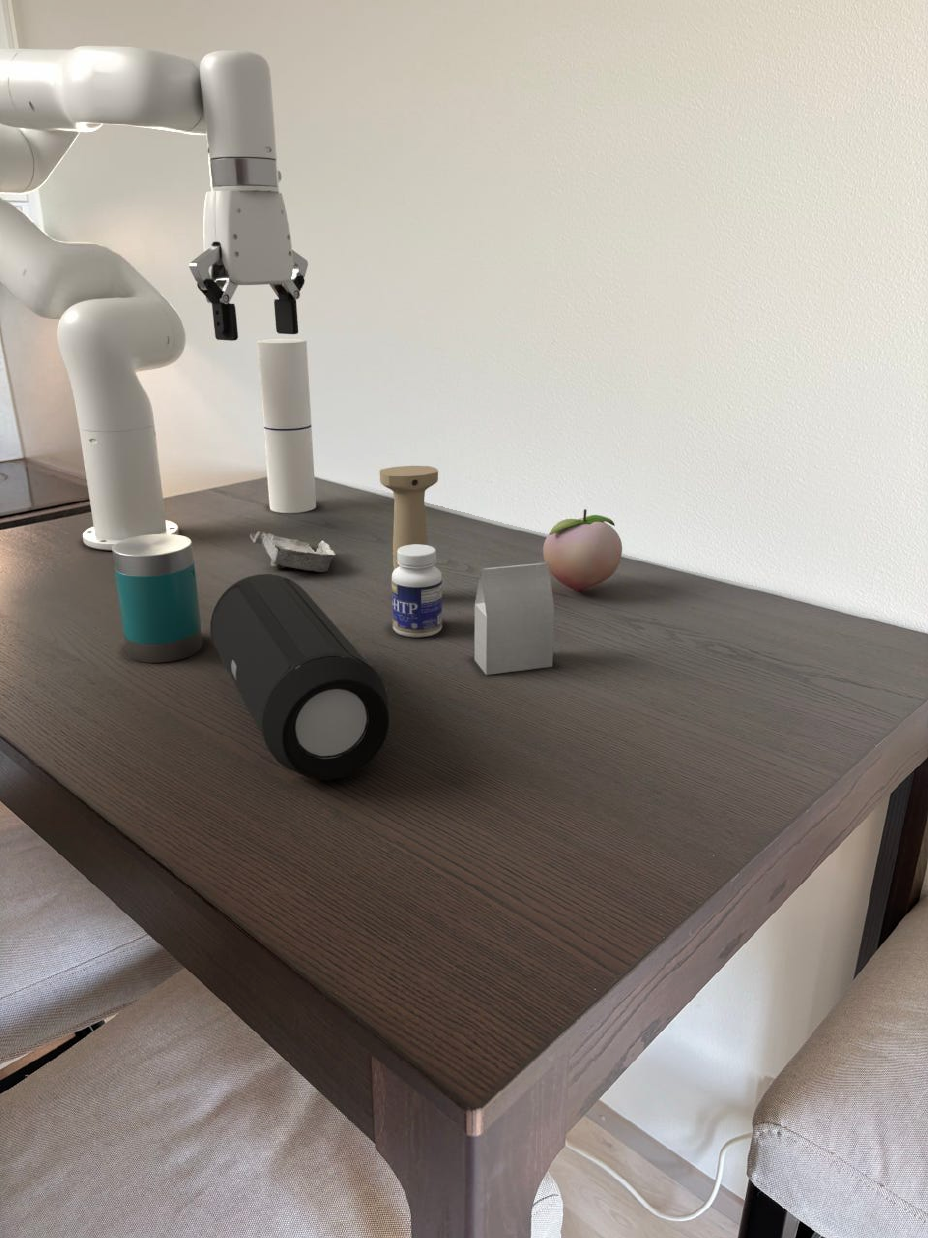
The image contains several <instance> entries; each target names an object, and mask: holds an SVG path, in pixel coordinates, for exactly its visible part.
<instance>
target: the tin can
mask: <svg viewBox="0 0 928 1238" xmlns="http://www.w3.org/2000/svg"><path fill="white" fill-rule="evenodd" d="M111 551H112V558H113V563H114V576H115V577H114V578H115V583H116V590H117V597H118V605H119V611H120V618H121V626H122V627H121V628H122V632H123V633H122V634H123V637H124V641H125V642H124V643H125V650H126V651H125V652H126V655H127V656H128V658H130V659H131V660H133V661H136V662H139V663H148V664H160V663H170V662H175V661H179V660H183V659H186V658H188V657H191V656H193V655H195V654H197V653H198V652H199V651H200V650H201V649H202V648H203V635H202V634H203V633H202V622H201V612H200V602H199V592H198V585H197V582H198V581H197V574H196V564H195V560H194V552H193V542H192V539H190V538H189V537H187V536H184V535H180V534H178V535H175V534H149V535H141V536H136V537H131V538H128V539H125V540H122V541H119V542H118V543H116V544H115V545H114V546H113V547H112V550H111Z"/></svg>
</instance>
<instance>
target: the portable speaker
mask: <svg viewBox="0 0 928 1238" xmlns="http://www.w3.org/2000/svg"><path fill="white" fill-rule="evenodd" d="M209 630H210V631H209V633H210V638H211V642H212V645H213V646H214V649H215V651H216V652H217V653H218V655H219V657H220V658H221V661H222V662H223V664H224V666H225V669H226V670H227V672H228V673H229V675H230V678H231V679H232V681H233V683H234V685H235V687H236V689H237V690H238V692H239V695H240V697H241V698H242V700H243V702H244V704H245V706H246V708H247V709H248V711H249V714H250V715H251V717H252V720H253V721H254V723H255V725H256V727H257V729H258V730H259V733H260V734H261V736H262V738H263V740H264V743H265V745H266V747H267V750H268V752H270V754H271V756H272V757H273V758H274V759H275V761H277V763H279V764H280V765H281V766H283V767H285V768H286V769H288V770H290V771H292V772H295V773H297V774H300V775H303V776H305V777H308V778H311V779H315V780H319V781H320V780H321V781H333V780H339V779H343V778H346V777H349V776H352V775H353V774H355V773H357V772H358V771H361V769H363V768H365V767H366V766H367V765H369V764H370V763H371V761H372V760H374V758H375V757H376V756H378V754H379V752H380V751H381V749H382V748H383V746H384V743H385V742H386V738H387V736H388V732H389V725H390V710H389V709H390V708H389V705H390V704H389V696H388V693H387V692H388V691H387V689H386V687H385V685H384V682H383V680H382V678H381V677H380V676H379V674H378V673H377V672H376V670H375V669H374V667H372V665H370V663H369V662H368V661H367V660H366V658H364V656H363V655H362V654H361V653H360V652H359V650H358V649H357V648H356V647H355V646H354V645H353V644H352V643H351V642H350V640H349V639H348V638H347V637H346V636H345V635H344V634H343V633H342V631H341V630H340V629H339V628H338V627H337V625H336V624H335V623H334V622H333V621H332V620H331V619H330V617H329V616H328V615H327V614H326V613H325V611H323V610H322V608H321V607H320V606H319V605H318V604H317V602H315V600H314V599H313V598H312V597H311V595H309V594H308V592H307V591H306V590H305V589H304V588H303V587H301V586H300V585H299V584H298V583H296V582H295V581H293V580H292V579H290V578H289V577H288V578H287V577H285V576H283V575H282V576H281V575H277V574H272V573H262V574H255V575H250V576H247V577H243V578H241V579H239V580H237V581H236V582H234V583H232V584H231V585H230V586H229V587H227V589H226V590H225V591H224V592H223V593H222V594H221V596H220V597H219V599H218V600H217V602H216V604H215V606H214V608H213V611H212V614H211V618H210V627H209Z"/></svg>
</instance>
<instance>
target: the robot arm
mask: <svg viewBox="0 0 928 1238" xmlns="http://www.w3.org/2000/svg"><path fill="white" fill-rule="evenodd" d="M272 89H273V88H272V76H271V69H270V65H269V64H268V62H267V60H266V59H265V58H264V57H263V55H260V54H258V53H256V52H252V51H247V50H239V49H238V50H236V49H226V50H225V49H223V50H215V51H211V52H208V53H207V54H205V55H204V56H203V57H202V59H201V61H198V60H194V59H190V58H186V57H183V56H178V55H174V54H171V53H167V52H163V51H159V50H155V49H149V48H145V47H138V46H124V45H79V46H76V47H74V48H72V49H71V48H70V49H69V48H68V49H67V48H66V49H65V48H15V47H10V48H9V47H8V48H7V47H5V48H0V194H9V195H25V194H30V193H32V192H34V191H37V189H39V188H41V187H42V186H43V185H44V184H45V183H46V182H47V180H48V179H49V178H50V176H51V175H52V174H53V173H54V171H55V169H56V168H57V167H58V165H59V164H60V162H61V161H62V160H63V158H64V157H65V155H66V154H67V153H68V151H69V150H70V148H71V147H72V145H73V144H74V143H75V141H76V140H77V139H78V137H79V136H80V133H82V132H83V133H89V132H94V131H97V130H98V129H100V128H101V127H102V126H103V125H116V126H117V125H118V126H128V127H129V126H130V127H131V126H132V127H139V128H145V129H146V128H147V129H156V130H163V131H168V132H175V133H179V134H180V133H182V134H187V135H194V136H195V135H196V136H205V137H206V138H205V139H206V146H207V147H206V149H207V158H208V169H209V177H210V178H209V180H210V189H211V190H210V191H205V198H204V205H203V222H202V223H203V225H202V228H203V229H202V231H203V252H201V254H199V255H198V256H197V257H196V258H194V259H192V261H190V263H189V264H188V268H189V270H190V272H191V274H192V276H193V278H194V280H195V281H196V286H197V288H198V290H199V291H200V292H201V293H202V294H203V296H205V300H206V302H207V303H208V304H210V305H211V308H212V318H213V320H212V321H213V329H214V337H215V339H216V340H217V341H230V342H232V341H233V342H234V341H237V340H238V338H239V332H238V323H237V311H236V305H235V303H230V302H231V300H232V298H233V296H234V295H235V293H236V290H237V288H238V287H239V286H261V285H263V286H264V285H269V286H270V288H271V289H272V291H273V292H274V294H275V295H276V296H277V298H275V299H273V300H274V301H273V305H274V307H273V308H274V318H275V331H276V333H277V334H278V335H279V334H280V335H281V334H282V335H298V334H299V321H298V308H297V307H298V306H297V300H299V299H300V297H301V290H302V288H303V286H304V285H305V277H306V274H307V270H308V267H309V261H308V260H307V259H305V258H304V257H303V256H302V255H300V254H299V253H298V252H296V251H295V250H293V248H292V238H291V230H290V225H289V220H288V219H289V218H288V214H287V208H286V205H285V201H284V197H283V193H282V192H280V183H281V181H282V173H281V171H280V170H278V157H277V145H276V143H277V142H276V131H275V130H276V127H275V116H274V104H273V103H274V102H273V91H272ZM0 283H1V284H2V285H3V286H4V287H5V288H6V289H7V290H9V291H10V293H11V294H13V296H14V297H15V298H17V300H19V301H20V302H21V304H23V305H24V306H25V307H26V308H27V309H28V310H29V311H31V312H32V313H33V314H35V315H37V316H39V317H40V318H43V319H49V320H59V321H58V323H57V328H56V341H57V345H58V350H59V353H60V356H61V359H62V361H63V364H64V367H65V370H66V373H67V376H68V379H69V383H70V387H71V391H72V396H73V400H74V405H75V413H76V419H77V424H78V429H79V436H80V443H81V449H82V450H81V451H82V457H83V463H84V470H85V476H86V478H85V479H86V484H87V490H88V497H89V498H88V499H89V504H90V510H91V511H90V512H91V519H92V525H93V526H91V527H89V528H87V529H86V530H85V531H84V532H83V533H82V541H83V543H84V545H86V546H87V547H89V548H91V549H96V550H100V551H112V547H113V546H114V545H115V544H116V543H118V542H119V541H122V540H125V539H128V538H131V537H136V536H141V535H149V534H175V535H180V532H179V526H178V524H177V523H174V522H173V521H171V520H167V519H166V511H165V503H164V494H163V486H162V477H161V470H160V460H159V451H158V443H157V437H156V436H157V435H156V429H155V427H156V426H155V420H154V412H153V407H152V403H151V399H150V397H149V395H148V393H147V392H146V390H145V387H144V386H143V385H142V382H141V381H140V379H139V377H138V375H137V373H138V372H143V371H145V372H146V371H151V370H157V369H161V368H164V367H167V366H169V365H172V364H173V363H175V362H176V361H178V360H179V358H181V356H182V355H183V353H184V351H185V347H186V341H187V335H186V328H185V326H184V323H183V320H182V319H181V316H180V315H179V313H178V311H177V310H176V309H175V307H174V306H173V305H172V304H171V303H170V301H169V300H168V299H167V298H166V297H165V296H164V295H163V294H162V293H161V292H160V291H158V290H157V288H156V287H154V285H153V284H152V283H150V281H148V279H146V278H145V277H144V276H143V274H141V273H140V272H139V271H138V270H137V269H136V268H135V267H134V266H133V265H132V264H131V263H130V262H129V261H127V259H126V258H125V257H123V256H122V255H121V254H119V253H118V252H117V251H115V250H113V249H112V248H110V247H108V246H105V245H103V244H100V243H94V242H85V241H83V242H81V241H76V242H75V241H63V240H58V239H55V238H53V237H51V236H50V235H48V234H47V233H46V232H45V231H43V230H42V229H41V228H40V227H39V226H38V225H37V224H36V223H35V222H34V221H33V220H32V219H31V218H30V217H29V216H28V215H27V214H26V213H25V212H23V211H22V210H21V209H20V208H18V207H17V206H15V205H14V204H12V203H10V202H8V201H7V200H5V199H3V197H0Z"/></svg>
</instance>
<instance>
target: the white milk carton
mask: <svg viewBox="0 0 928 1238" xmlns="http://www.w3.org/2000/svg"><path fill="white" fill-rule="evenodd" d="M478 578H479V579H478V585H477V590H476V596H475V601H474V662H475V663H476V664H477V666H479V669H480V670H481V671H482V672H483V674H485V676H490V675H497V674H503V673H504V674H505V673H506V674H507V673H512V672H523V671H528V670H536V669H545V668H553V656H554V655H553V654H554V633H555V632H554V628H555V605H554V603H555V602H554V597H553V590H552V582H551V581H552V580H551V572H550V570H549V563H548V562H545V561H544V562H536V563H525V564H515V565H504V566H494V567H484V568H479V577H478Z"/></svg>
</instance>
